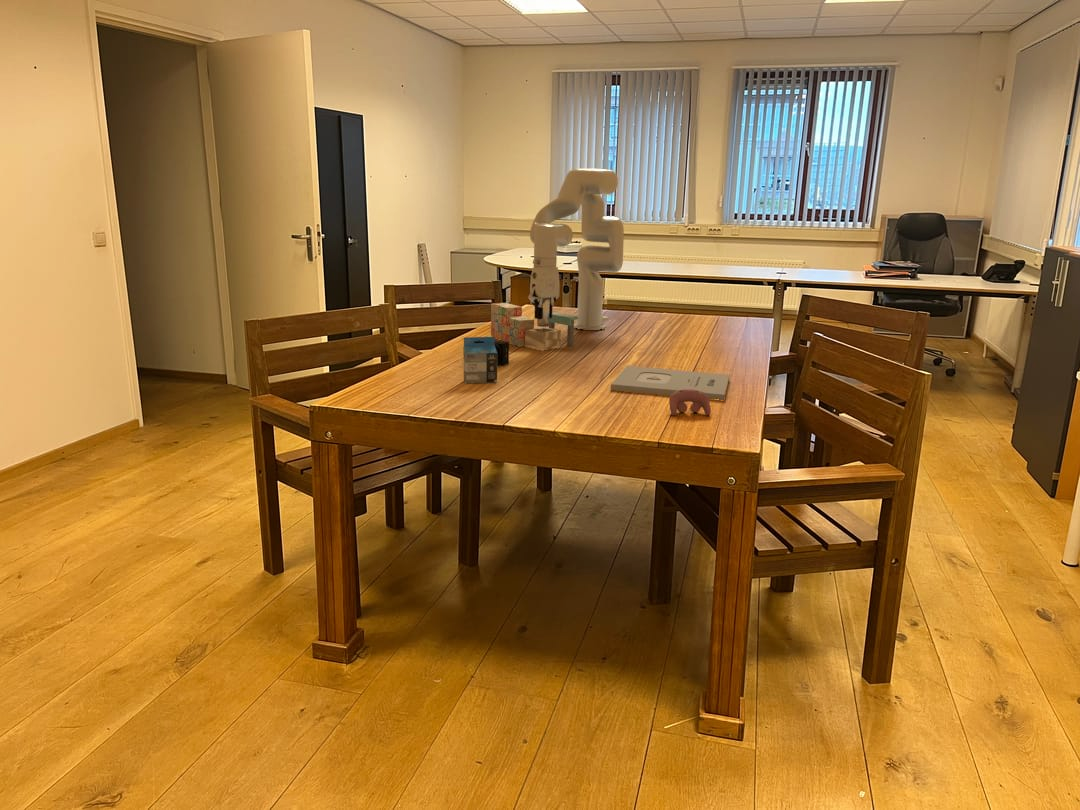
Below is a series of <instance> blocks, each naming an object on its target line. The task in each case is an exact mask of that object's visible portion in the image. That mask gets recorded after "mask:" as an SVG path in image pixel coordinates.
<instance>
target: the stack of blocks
mask: <svg viewBox="0 0 1080 810" xmlns="http://www.w3.org/2000/svg"><path fill="white" fill-rule="evenodd" d="M522 313H523V307H522V306H519V305H515V304H511V303H508V302H499V303H498V302H495V303H491V304H490V337H491V336H492V337H495V338H497V339H496V340H498V339H500V340H502V341H506V342H509V343H510V344H509V345H511V344H512V346H513V347H516V346H517V348H523V347H522V346H525V330H527V329H534V328H535V318H531V317H527V316H524V315H523V314H522ZM495 338H494V339H495ZM500 340H499V341H500Z"/></svg>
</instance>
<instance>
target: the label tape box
mask: <svg viewBox="0 0 1080 810" xmlns="http://www.w3.org/2000/svg"><path fill="white" fill-rule="evenodd" d="M478 340H480V341H484V343H474V342H475V341H478ZM494 340H495V337H491V336H471V337H468V336H467V337H466V336H465V337H463V349H462V350H463V352H462V353H463V354H462V355H463V381H465V382H466V383H468V384H483V383H487V384H488V382H489V383H497V382H498V366H497V351H496V348H495V345H494ZM465 382H464V383H465ZM466 383H465V384H466Z"/></svg>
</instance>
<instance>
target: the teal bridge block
mask: <svg viewBox="0 0 1080 810" xmlns="http://www.w3.org/2000/svg"><path fill="white" fill-rule="evenodd" d="M577 320H578V316H577V315H571V314H567V313H566V314H565V313H560V312H554V311H552V318H549V326H548V328H551V329H556V328H555V327H556V326H555V324H558V325H565V326H567V335H566V346H569V345H572V346H574V331H575V330H574V329H575V328H574V324H575V321H577Z"/></svg>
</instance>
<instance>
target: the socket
mask: <svg viewBox="0 0 1080 810" xmlns="http://www.w3.org/2000/svg"><path fill="white" fill-rule="evenodd" d="M561 335H562V330H561V329H556V328H555V329H551V328H549V327H536V328H535V327H534V329H527V330H525V348H526V347H527V348H526V349H530V348H532V350H535V349H536V351H539V350H541V352H545V351H550V350H549V349H551V350H556V349H560V348H561V343H562V342H561V341H562V339H561V338H562V336H561ZM555 348H556V349H555ZM544 350H545V351H544Z"/></svg>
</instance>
